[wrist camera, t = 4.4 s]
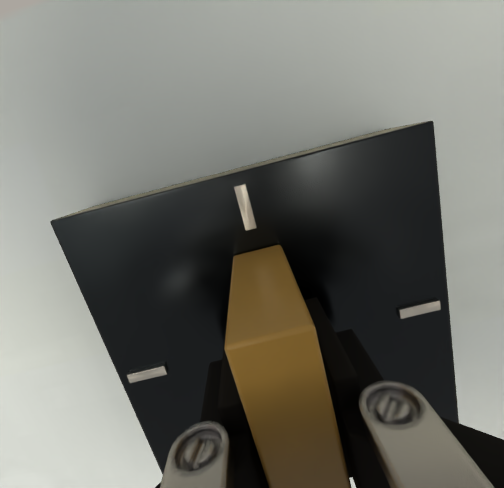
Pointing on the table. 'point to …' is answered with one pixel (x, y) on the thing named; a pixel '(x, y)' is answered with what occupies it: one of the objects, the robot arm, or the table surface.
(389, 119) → the table surface
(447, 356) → the dial pointer knob base
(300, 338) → the dial pointer knob
